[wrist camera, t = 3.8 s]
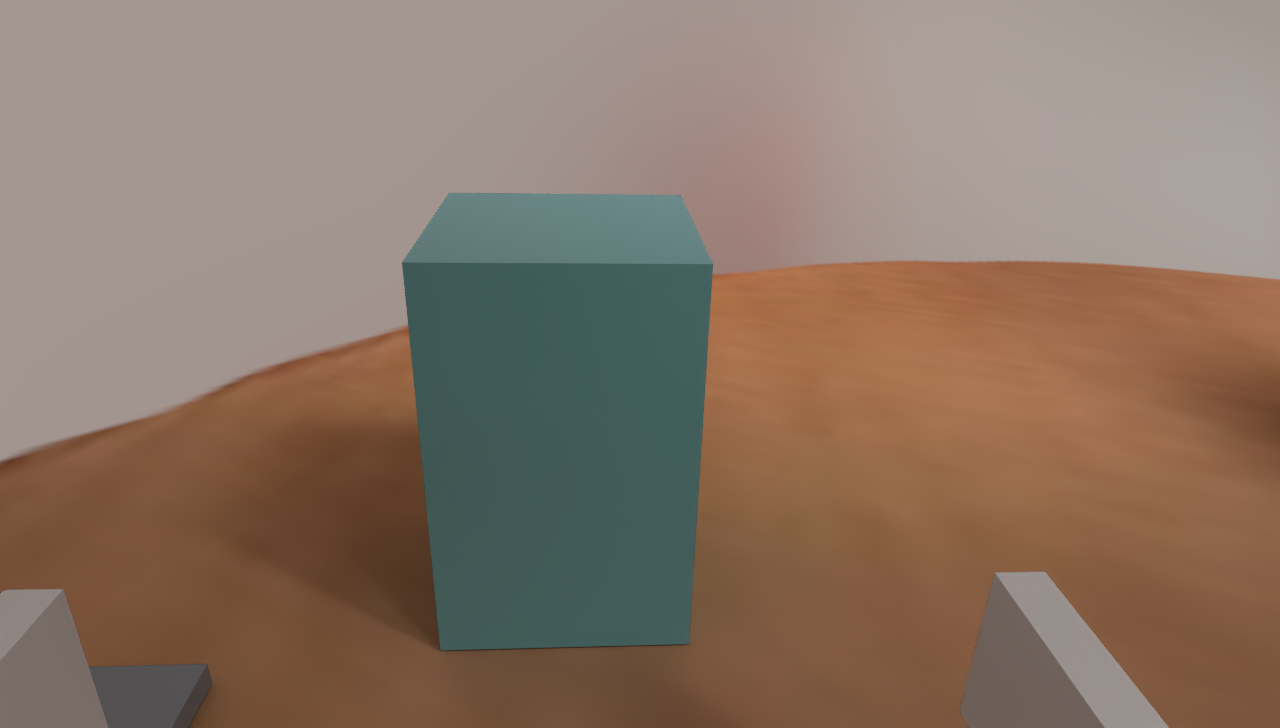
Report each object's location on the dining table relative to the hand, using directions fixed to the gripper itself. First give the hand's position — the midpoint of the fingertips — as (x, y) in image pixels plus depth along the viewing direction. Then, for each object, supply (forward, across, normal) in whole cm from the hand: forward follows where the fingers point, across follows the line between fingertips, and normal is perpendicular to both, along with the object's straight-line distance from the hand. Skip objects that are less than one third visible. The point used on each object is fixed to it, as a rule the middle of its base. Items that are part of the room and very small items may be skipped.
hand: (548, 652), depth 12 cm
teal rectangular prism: (+10, 0, -6) cm, 11 cm away
